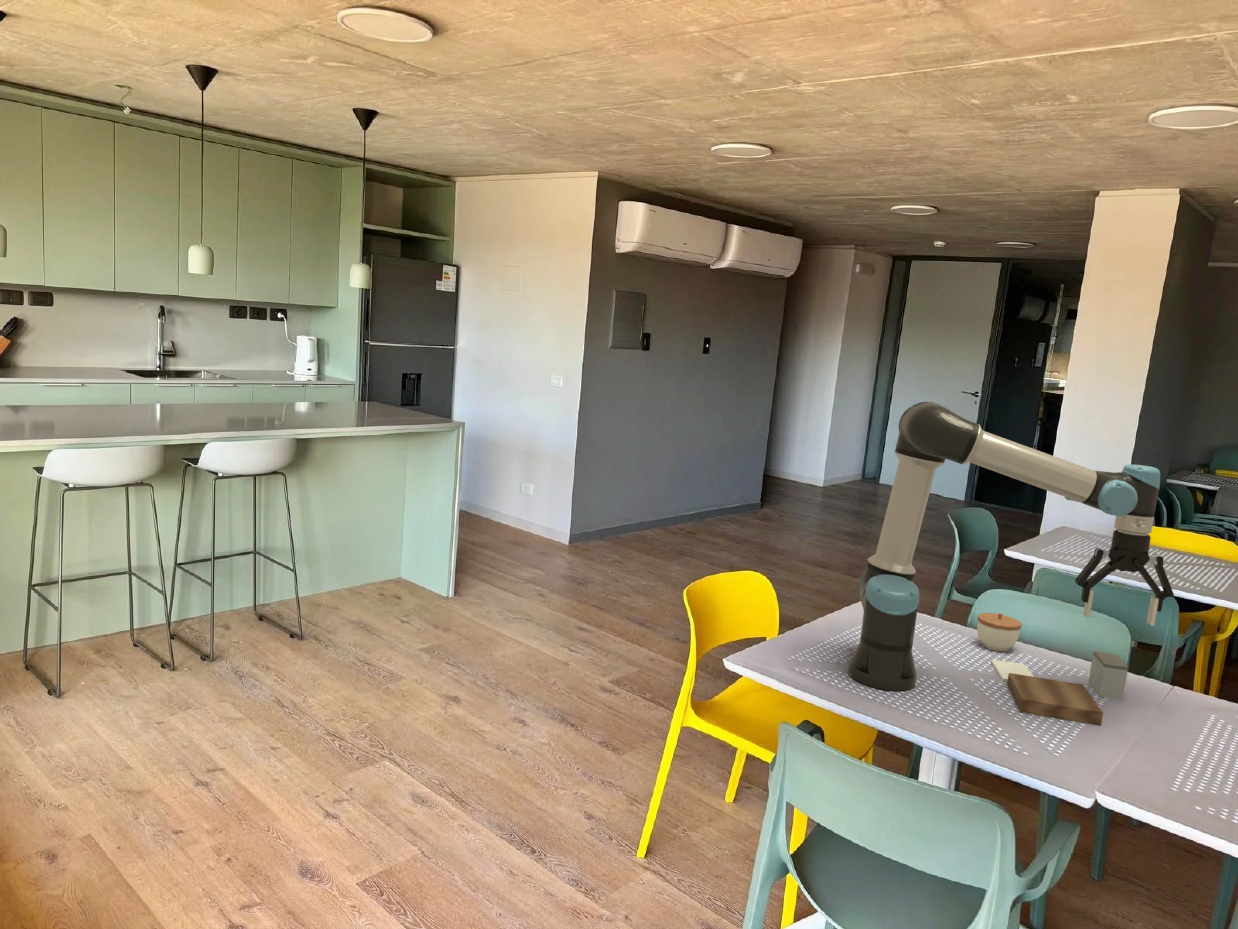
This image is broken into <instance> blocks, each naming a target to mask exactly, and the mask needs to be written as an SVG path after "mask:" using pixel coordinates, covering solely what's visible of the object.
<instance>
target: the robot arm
mask: <svg viewBox="0 0 1238 929" xmlns="http://www.w3.org/2000/svg"><path fill="white" fill-rule="evenodd" d="M894 454H895V456H896V457H897V459H898V464H897V468H896V472H895V476H894V480H893V485H892V488H891V492H890V496H889V501H888V504H887V508H886V512H885V515H884V520H883V524H882V528H881V532H880V537H879V539H878V544H877V547H876V552H875V554H873V555H871V556H870V557H868V558H867V560H866V565H865V569H864V572H863V574H862V575H861V578H860V579H859V581H858V588H857V593H858V597H859V600H860V602H861V606H862V610H863V616H862V622H861V623H862V625H861V629H860V630H861V632H860V640H859V643H858V646H856V650H855V651H854V654H853V655H852V657H851V659H850V661H849V666H848V674H849V675H850V674H851V676H852V677H853V678H855V679H856V680H855V679H854V680H855V681H857V680H858V681H860V682H862V683H861V684H862V685H865V684H867V685H866V686H868V685H869V686H868V687H871V686H872V687H871V688H874V687H875V688H874V689H879V688H880V689H879V690H884V689H885V691H896V692H897V691H901V692H902V691H908V690H911V689H913V688H914V687H915V686H916V683H917V670H916V666H915V660H914V656H913V644H914V637H915V629H916V623H917V622H916V620H917V615H918V608H919V605H920V590H919V587H918V585H916V583H914V581H915V577H916V572H917V571H916V569H915V566H913V564H912V562H913V558H914V554H915V550H916V546H917V542H918V538H919V536H920V530H921V527H922V524H923V519H924V516H925V512H926V508H927V504H928V500H929V496H930V493H931V489H932V484H933V481H934V478H935V473H936V470H937V469H938V468H939V467H941V466H942V465H944V464H945V461H946V460H948V461H951V462H954V463H957V464H960V465H965V464H968V463H970V464H974V465H976V466H979V467H981V468H984V469H987V470H989V471H993V472H995V473H998V474H1001V475H1004V476H1007V477H1010V478H1011V479H1014V480H1017V481H1020V482H1023V483H1026V484H1028V485H1031V486H1034V487H1037V488H1039V489H1042V490H1044V491H1048V492H1049V493H1052V494H1056V495H1059V496H1062V497H1064V499H1066V500H1067V501H1073V502H1077V503H1080V504H1081V503H1082V504H1083V505H1085V506H1088V507H1091V508H1094V509H1096V510H1099V511H1102V512H1103V513H1105V514H1107V515H1110V516H1115V519H1114V525H1113V526H1114V528H1115V530H1113V533H1112V540H1111V545H1110V549H1109V550H1106V549H1102V548H1100V547H1096V548H1095V549H1094V552H1093V554H1092V555H1093V556H1092V557H1091V558H1090V559H1089V561H1088V562H1087V564H1086V565H1085V566H1084V568H1083V569H1082V570H1081V571H1080V573H1079V574H1078V575H1077V576H1076V578H1075V579H1074V583H1075V584H1076V585H1077V586H1078V587H1082V590H1081V597H1080V600H1081V601H1082V602H1083V603H1084V607H1083V612H1082V614H1083V615H1084V616H1085V618H1091V613H1092V612H1091V611H1092V607H1093V606H1092V604H1093V600H1094V593H1095V591H1094V589H1093V587H1095V586H1096V585H1097V584H1099V583H1100V582H1101V581H1102V580H1104V579H1105V578H1107V576H1109V575H1110V574H1111V573H1114V572H1115V571H1116V570H1118V571H1120V572H1130V573H1136V572H1138V573H1139V574H1140V576H1141V577H1142V579H1144V581H1145V582H1146V584H1147V585H1148V586H1149V588H1150V589H1151V591H1152V592H1153V593H1154V595H1150V599H1149V606H1148V611H1147V618H1146V623H1147V624H1148V625H1150V626H1151V627H1155V624H1156V618H1157V612H1159V613H1161V612H1162V608H1163V605H1164V604H1163V603H1164V600H1166V598H1173V597H1174V595H1175V594H1174V591H1173V589H1172V586H1171V584H1170V580H1169V578H1168V574H1167V573H1166V571H1165V568H1164V557H1163V556H1161V555H1159V554H1157V553H1155V554H1154V555H1149V550H1150V546H1151V535H1150V534H1151V533H1152V531H1153V525H1154V520H1155V519H1154V518H1155V512H1156V506H1157V501H1158V496H1159V490H1160V488H1161V487H1160V485H1161V471H1160V470H1159V468H1157V467H1153V466H1148V465H1142V464H1125V465H1124V466H1123V469H1122V471H1119V472H1111V471H1103V470H1102V471H1101V470H1093V469H1090V468H1087V467H1086V466H1082V465H1080V464H1076V463H1074V462H1071V461H1068V460H1066V459H1063V458H1060V457H1057V456H1054V455H1052V454H1049V453H1046V452H1043V451H1040V450H1038V449H1034V448H1033V447H1029V446H1026V445H1024V444H1022V443H1021V444H1020V443H1018V442H1015V441H1012V440H1010V439H1008V438H1004V437H1001V436H999V435H996V434H994V433H990V432H988V431H985V430H983V429H982V427H981V425H980V424H979V423H976V422H973V421H971V420H968V419H966V418H964V417H963V416H961V415H959V414H957V413H955V412H954V411H952V410H951V409H948V408H947V407H945V406H943V405H941V404H939V403H936V402H933V401H921V402H920V401H919V402H917V403H915V404H912V405H911V406H909V407H908V408H907V409H906V410H905V411H904V412H903V413H902V414H901V416H900V419H899V422H898V437H897V441H896V445H895V449H894ZM1106 557H1108V558H1109V561H1108V562H1106V564H1104V566H1103V567H1101V568H1100V569H1099V570H1097V571H1096V572H1095V573H1093V572H1094V571H1095V570H1096V568H1097V567H1098V566H1099V565H1100V563H1101V562H1102V560H1103V559H1105V558H1106ZM1149 561H1150V563H1151V564H1152V565H1153V567H1154V569H1155V572H1156V575H1157V577H1158V580H1159V583H1160V585H1161V588H1162V589H1161V588H1160V587H1159V586H1158V584H1157V583H1156V582H1155V579H1153V578H1152V576H1151V575H1150V573H1149V571H1148V570H1147V569H1146V568H1145V565H1147V564H1148V563H1149ZM1092 573H1093V575H1092ZM851 676H850V677H851ZM852 677H851V678H852ZM853 678H852V679H853ZM858 681H857V682H858ZM860 682H859V683H860Z"/></svg>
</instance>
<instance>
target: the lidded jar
mask: <svg viewBox="0 0 1238 929" xmlns="http://www.w3.org/2000/svg"><path fill="white" fill-rule="evenodd" d="M1021 628H1022V622H1021V621H1020V620H1019V619H1017V618H1014V617H1012V616H1008V615H1005V614H1004V613H1002V612H998V613H991V612H984V613H983V612H982V613H980V614H978V615H977V626H976V630H977V637H978V638H979V641H980V642H981V643H982V644H983V647H985V648H986V649H989V650H992V651H996V652H1008V650H1009V649H1011V648H1013V647H1014V645H1016V643H1018V639H1019V637H1020V633H1021Z"/></svg>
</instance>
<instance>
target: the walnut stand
mask: <svg viewBox="0 0 1238 929" xmlns="http://www.w3.org/2000/svg"><path fill="white" fill-rule="evenodd" d="M1006 685H1007V688H1008V690H1009V692H1010V694H1011V696H1012V697H1013V700H1014V702H1015V704H1016V706H1017V708H1018V710H1019V712H1020V713H1023V714H1029V715H1034V716H1035V715H1036V716H1040V717H1046V718H1053V719H1059V720H1065V721H1071V722H1075V723H1076V722H1077V723H1083V724H1089V725H1095V726H1102V721H1103V715H1104V711H1103V710H1102V708H1101V707H1100V706H1099V704H1098V703H1097V702H1096V701H1095V698H1093V696H1092V695H1091V693H1090V692H1089V691H1088V689H1087V688H1086V686H1084V684H1081V683H1075V682H1069V681H1063V680H1057V679H1050V678H1043V677H1037V676H1034V677H1032V676H1026V675H1019V674H1013V673H1009V675H1008V682H1007V683H1006Z"/></svg>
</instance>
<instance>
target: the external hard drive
mask: <svg viewBox="0 0 1238 929" xmlns="http://www.w3.org/2000/svg"><path fill="white" fill-rule="evenodd" d="M990 665H991V666H992V668H993V670H994V671H995V672H996V674H997V676H998V677H999V679H1000V681H1001V682H1002V683H1006V684H1007V682H1008V675H1009V673H1013V674H1019V675H1026V676H1032V677H1035V676H1034V675H1033V673H1032V672H1031V671H1030V669H1029V668H1028V666H1027V665H1026V664H1025V663H1019V662H1018V663H1017V662H1013V661H1004V660H998V659H991V661H990Z"/></svg>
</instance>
